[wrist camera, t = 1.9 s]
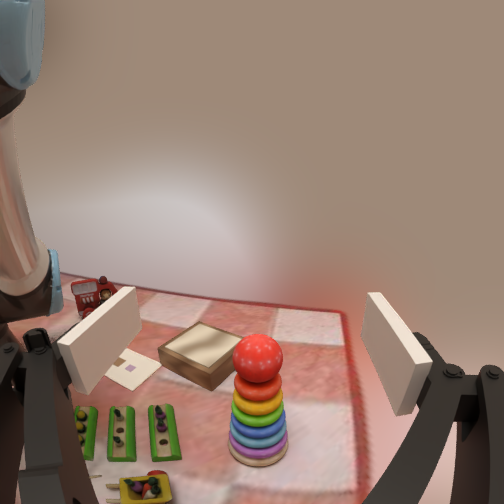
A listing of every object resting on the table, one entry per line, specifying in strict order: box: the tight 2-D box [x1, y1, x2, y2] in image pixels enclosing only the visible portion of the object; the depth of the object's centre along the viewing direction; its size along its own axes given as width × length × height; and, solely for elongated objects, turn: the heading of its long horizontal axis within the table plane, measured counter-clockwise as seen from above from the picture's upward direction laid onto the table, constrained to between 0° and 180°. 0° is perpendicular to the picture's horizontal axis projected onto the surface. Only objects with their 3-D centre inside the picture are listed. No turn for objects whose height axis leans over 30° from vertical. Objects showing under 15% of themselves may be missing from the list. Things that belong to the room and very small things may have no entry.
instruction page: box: [104, 348, 162, 391], centre depth 47 cm, size 12×9×1 cm
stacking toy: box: [228, 334, 288, 466], centre depth 29 cm, size 8×8×19 cm
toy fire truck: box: [71, 276, 118, 319], centre depth 62 cm, size 7×12×10 cm, turn 124°
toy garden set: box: [74, 404, 182, 504], centre depth 26 cm, size 23×19×5 cm
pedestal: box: [158, 321, 244, 391], centre depth 50 cm, size 12×12×4 cm
